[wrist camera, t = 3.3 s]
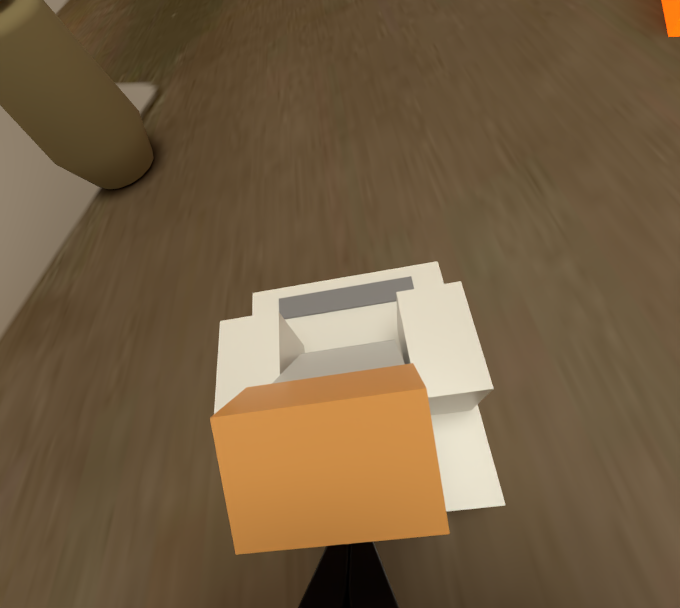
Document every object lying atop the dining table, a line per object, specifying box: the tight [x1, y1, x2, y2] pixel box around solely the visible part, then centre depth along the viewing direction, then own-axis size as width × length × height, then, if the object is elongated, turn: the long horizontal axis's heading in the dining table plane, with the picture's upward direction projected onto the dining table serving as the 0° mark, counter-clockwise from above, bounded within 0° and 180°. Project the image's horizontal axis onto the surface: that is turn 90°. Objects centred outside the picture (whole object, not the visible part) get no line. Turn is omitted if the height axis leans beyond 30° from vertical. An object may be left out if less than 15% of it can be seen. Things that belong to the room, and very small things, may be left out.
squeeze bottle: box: [0, 0, 153, 189], centre depth 24 cm, size 8×8×18 cm
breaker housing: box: [214, 261, 505, 511], centre depth 16 cm, size 11×10×8 cm
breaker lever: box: [210, 340, 450, 555], centre depth 11 cm, size 3×4×9 cm
